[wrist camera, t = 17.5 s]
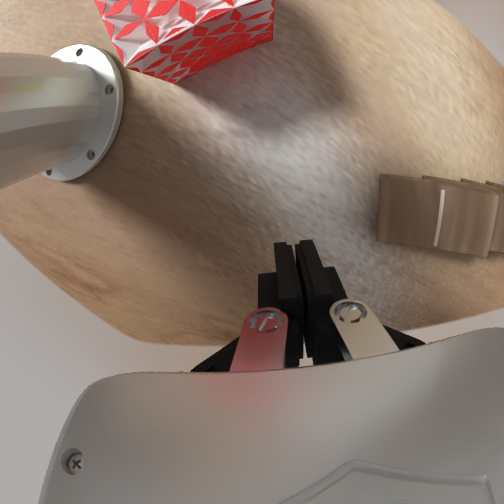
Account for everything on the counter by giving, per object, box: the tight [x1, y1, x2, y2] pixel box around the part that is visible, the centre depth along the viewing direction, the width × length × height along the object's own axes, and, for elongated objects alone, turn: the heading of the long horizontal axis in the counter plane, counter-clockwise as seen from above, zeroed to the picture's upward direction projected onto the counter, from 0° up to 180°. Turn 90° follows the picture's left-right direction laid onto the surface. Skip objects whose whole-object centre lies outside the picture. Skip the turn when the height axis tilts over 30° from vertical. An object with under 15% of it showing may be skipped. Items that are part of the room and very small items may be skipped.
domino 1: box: [376, 174, 499, 257], centre depth 17 cm, size 2×5×10 cm
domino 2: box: [422, 176, 504, 253], centre depth 17 cm, size 2×5×10 cm
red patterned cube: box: [94, 0, 275, 84], centre depth 11 cm, size 8×8×8 cm
